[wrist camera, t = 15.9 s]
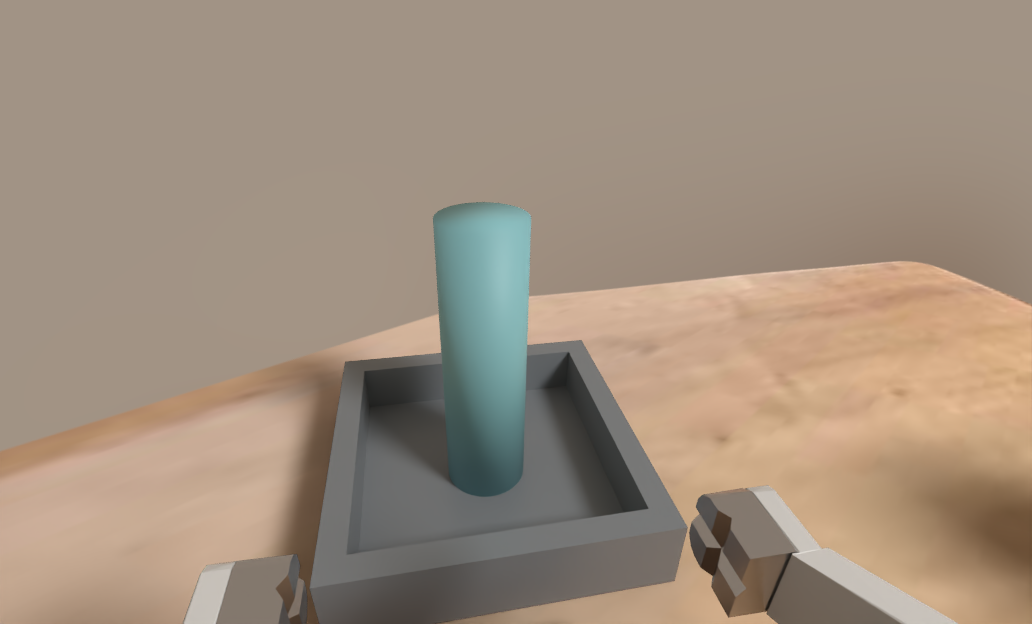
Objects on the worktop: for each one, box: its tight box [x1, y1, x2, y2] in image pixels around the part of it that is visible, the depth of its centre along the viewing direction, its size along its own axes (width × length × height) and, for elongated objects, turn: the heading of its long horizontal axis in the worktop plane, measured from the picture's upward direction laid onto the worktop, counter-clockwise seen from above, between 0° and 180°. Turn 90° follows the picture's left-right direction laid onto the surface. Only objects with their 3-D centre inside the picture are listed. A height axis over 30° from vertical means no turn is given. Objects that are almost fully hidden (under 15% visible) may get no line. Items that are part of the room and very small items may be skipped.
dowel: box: [433, 202, 531, 497], centre depth 25 cm, size 4×4×14 cm
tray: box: [310, 340, 688, 624], centre depth 28 cm, size 15×15×4 cm
